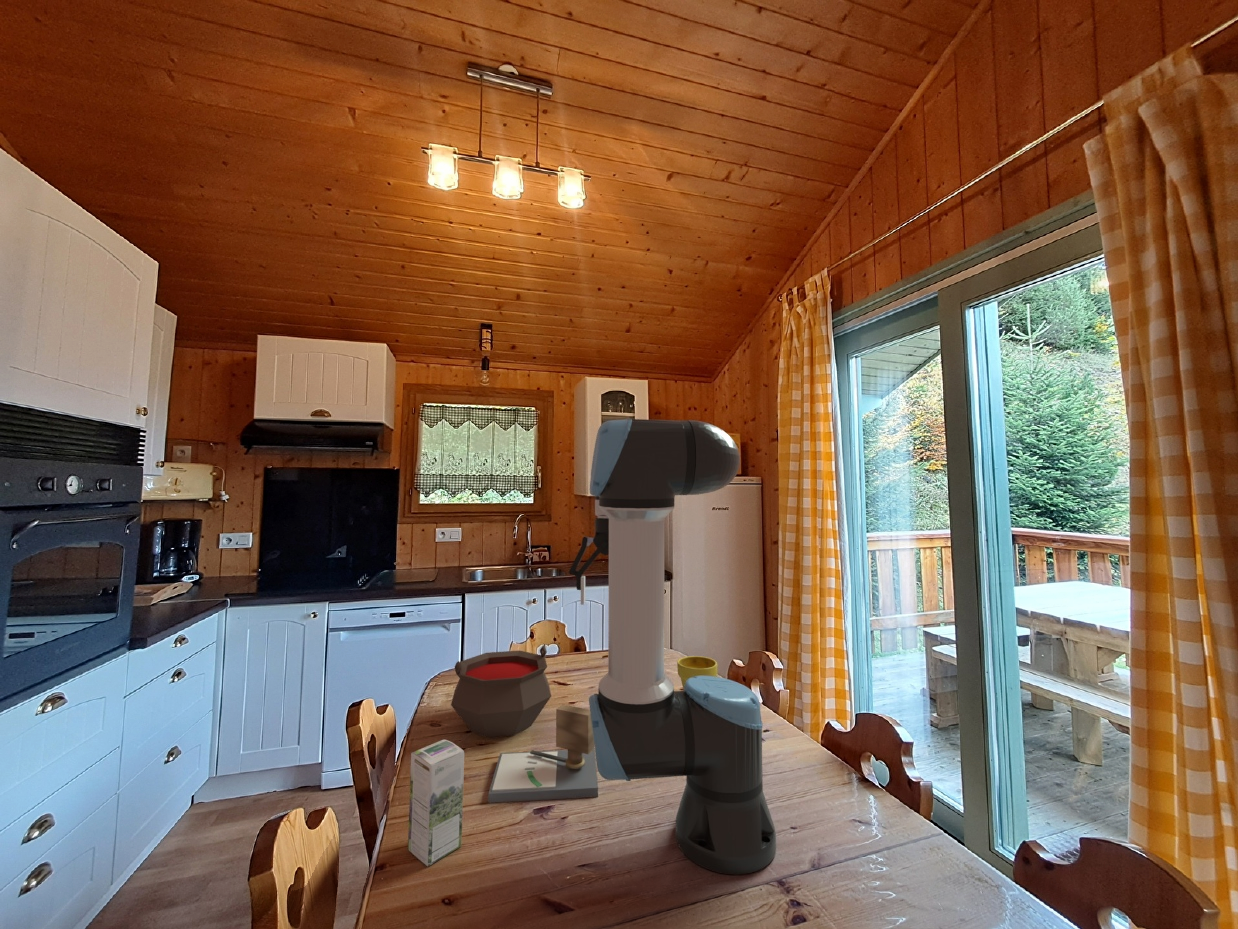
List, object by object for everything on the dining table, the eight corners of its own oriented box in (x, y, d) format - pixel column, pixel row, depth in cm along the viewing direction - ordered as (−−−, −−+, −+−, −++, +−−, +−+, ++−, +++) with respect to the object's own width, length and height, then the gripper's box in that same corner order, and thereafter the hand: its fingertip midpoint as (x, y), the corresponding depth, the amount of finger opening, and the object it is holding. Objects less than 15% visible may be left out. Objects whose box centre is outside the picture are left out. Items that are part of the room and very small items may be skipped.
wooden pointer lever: (595, 763, 96) (595, 709, 96) (586, 773, 92) (586, 716, 93) (536, 749, 101) (536, 697, 102) (525, 757, 98) (526, 704, 99)
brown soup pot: (527, 695, 134) (528, 633, 135) (572, 729, 115) (572, 656, 116) (435, 718, 121) (436, 649, 122) (468, 761, 101) (469, 677, 102)
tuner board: (597, 796, 89) (597, 785, 89) (488, 802, 87) (488, 791, 87) (594, 756, 103) (594, 746, 103) (500, 761, 101) (500, 751, 101)
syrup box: (441, 831, 80) (443, 736, 81) (463, 847, 76) (464, 748, 77) (407, 851, 75) (409, 750, 76) (428, 869, 71) (430, 763, 72)
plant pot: (683, 709, 125) (683, 669, 126) (673, 693, 135) (673, 656, 136) (723, 707, 127) (722, 667, 127) (710, 691, 137) (710, 654, 137)
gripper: (660, 516, 128) (660, 601, 127) (563, 516, 130) (563, 600, 128) (660, 517, 121) (661, 607, 119) (557, 517, 122) (557, 606, 121)
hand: (610, 603), depth 124 cm, fingers open, 13 cm apart
